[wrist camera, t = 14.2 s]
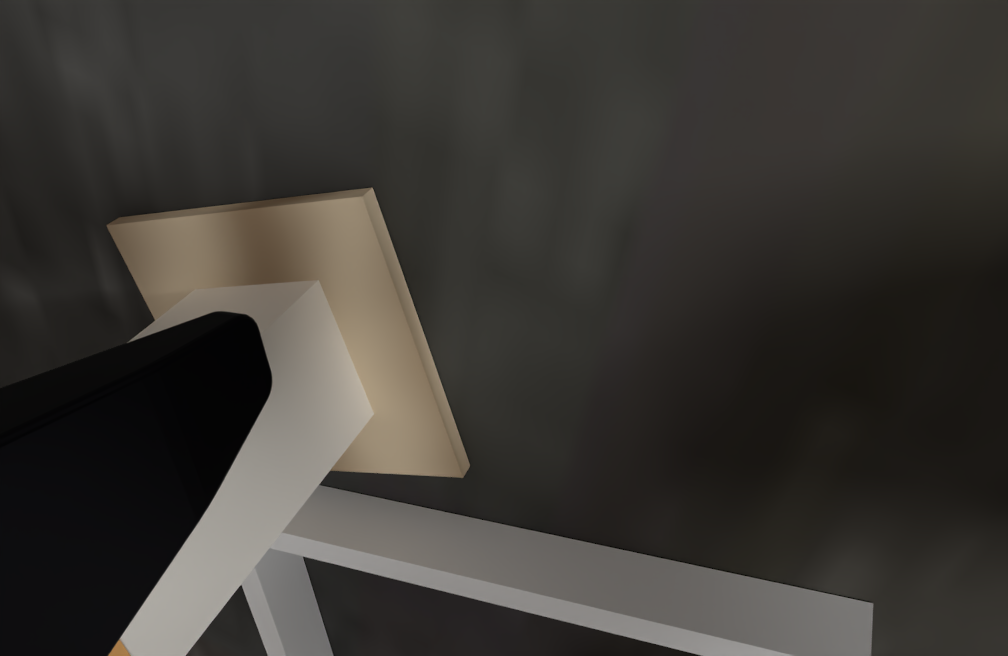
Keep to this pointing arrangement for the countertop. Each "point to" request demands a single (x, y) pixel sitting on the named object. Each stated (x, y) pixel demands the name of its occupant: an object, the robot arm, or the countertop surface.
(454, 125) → the countertop surface
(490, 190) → the countertop surface
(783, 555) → the countertop surface
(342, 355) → the module
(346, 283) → the pad
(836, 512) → the countertop surface
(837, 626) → the grey angled frame
